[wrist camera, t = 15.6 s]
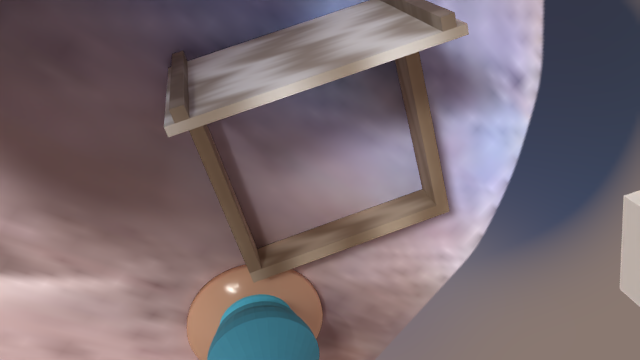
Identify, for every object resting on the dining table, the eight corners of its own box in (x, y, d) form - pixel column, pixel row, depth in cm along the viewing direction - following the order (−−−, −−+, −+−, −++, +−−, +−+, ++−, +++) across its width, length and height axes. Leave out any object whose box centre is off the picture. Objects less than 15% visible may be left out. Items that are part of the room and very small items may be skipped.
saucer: (215, 387, 54) (215, 394, 53) (165, 292, 48) (164, 298, 47) (335, 342, 55) (337, 348, 54) (299, 243, 49) (301, 249, 48)
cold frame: (249, 261, 48) (268, 362, 38) (163, 56, 40) (157, 113, 29) (435, 194, 50) (503, 274, 39) (391, -20, 41) (465, 8, 30)
